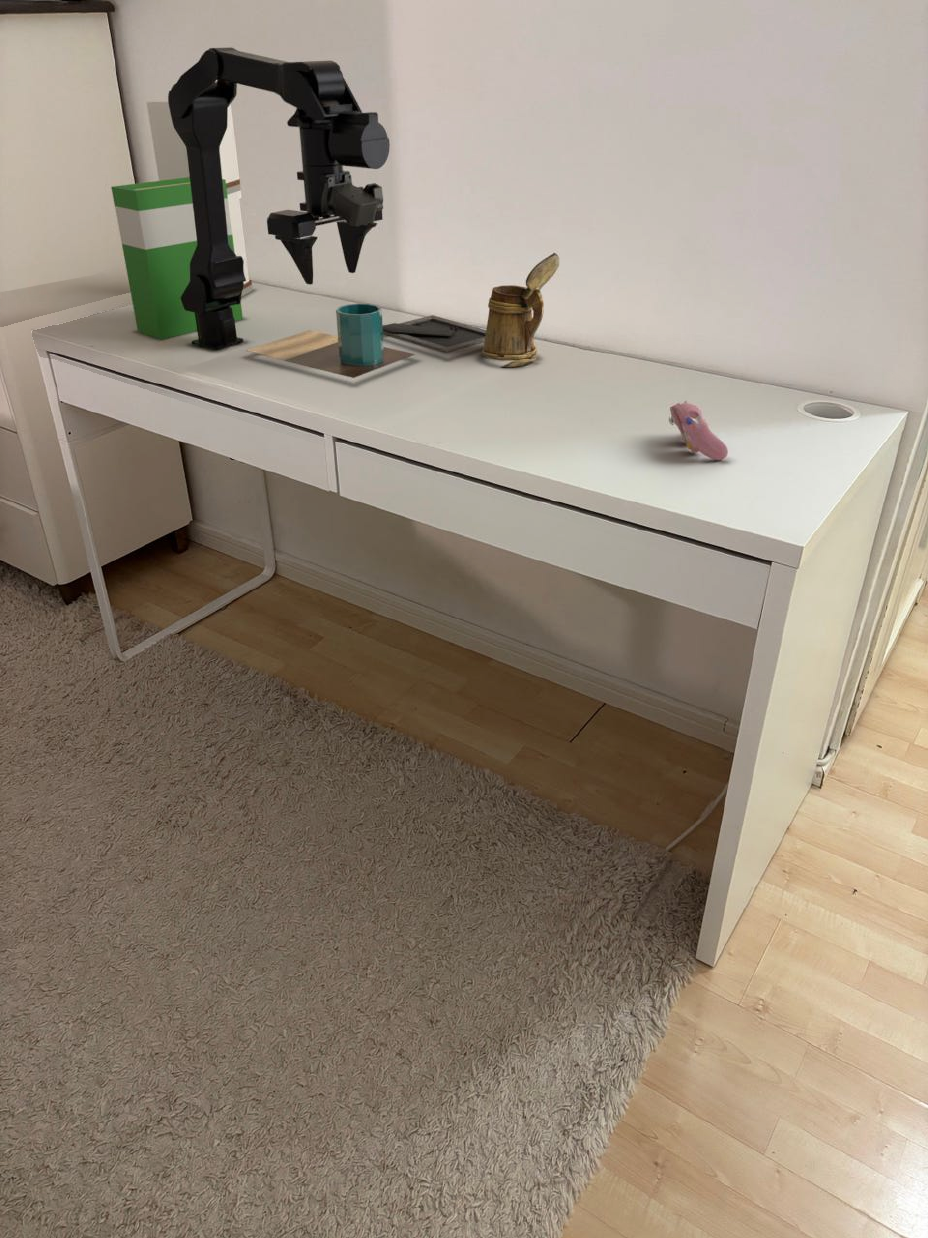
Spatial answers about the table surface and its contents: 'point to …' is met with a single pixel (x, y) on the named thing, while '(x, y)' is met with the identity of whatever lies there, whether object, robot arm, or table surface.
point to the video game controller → (696, 431)
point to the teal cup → (360, 334)
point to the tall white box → (175, 166)
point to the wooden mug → (517, 316)
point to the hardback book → (161, 252)
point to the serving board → (321, 353)
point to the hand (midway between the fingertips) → (331, 278)
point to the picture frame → (437, 333)
